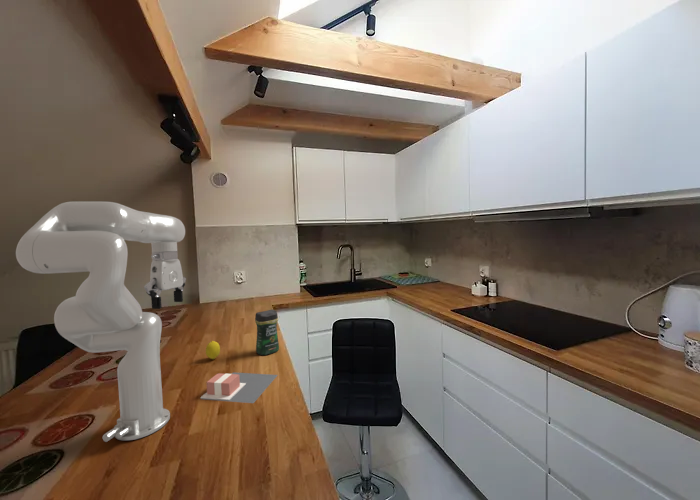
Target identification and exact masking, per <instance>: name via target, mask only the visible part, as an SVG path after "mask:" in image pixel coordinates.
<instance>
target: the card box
mask: <svg viewBox="0 0 700 500" xmlns="http://www.w3.org/2000/svg"><path fill="white" fill-rule="evenodd" d="M239 386H240V378H239V374H232V373H216V374H215V375H214V376H212V377H211V378H210V379H209V380H207V381H206V392H207V394H213V395H227V396H230V395H231V394H232V393H233V392H234V391H235V390H236V389H237V388H238V387H239Z"/></svg>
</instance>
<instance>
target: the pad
mask: <svg viewBox="0 0 700 500" xmlns="http://www.w3.org/2000/svg"><path fill="white" fill-rule="evenodd" d="M245 384H246V383H240V386H239V387H238V388H237V389H236V390H235V391H234V392H233V393H232V394H231V395H230V396H227V395H213V394H207V391H206V392H205V393H203V395H201V397H200V399H202V398H204V399H203V400H205V399H217V400H216V401H218V400H230V399H231V398H232V397H233V396H234V395H235V394H236V393H237V392H238V391H239V390H240V389H241V388H242V387H243V386H244V385H245Z"/></svg>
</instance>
